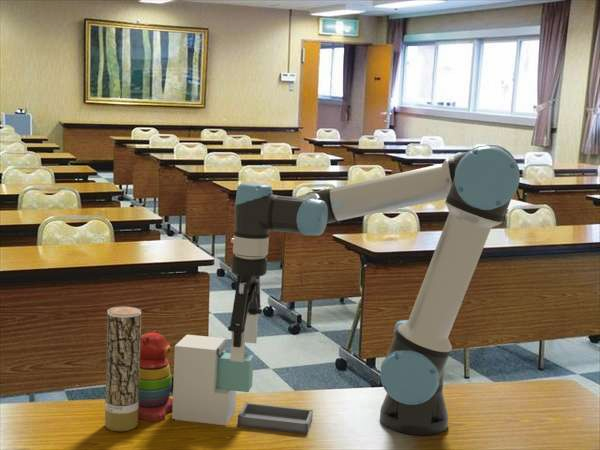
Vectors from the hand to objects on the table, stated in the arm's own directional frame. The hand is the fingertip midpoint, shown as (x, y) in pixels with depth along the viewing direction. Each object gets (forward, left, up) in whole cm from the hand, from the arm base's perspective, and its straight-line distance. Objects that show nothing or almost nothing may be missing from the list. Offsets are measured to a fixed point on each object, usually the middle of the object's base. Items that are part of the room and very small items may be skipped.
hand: (243, 351), depth 168 cm
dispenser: (+8, 0, -15) cm, 17 cm away
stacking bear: (+20, +1, -16) cm, 25 cm away
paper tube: (+23, +11, -16) cm, 30 cm away
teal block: (+3, 0, -8) cm, 9 cm away
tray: (-8, 0, -15) cm, 17 cm away
